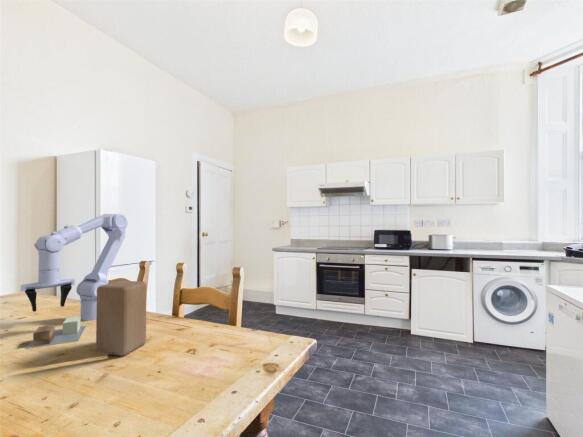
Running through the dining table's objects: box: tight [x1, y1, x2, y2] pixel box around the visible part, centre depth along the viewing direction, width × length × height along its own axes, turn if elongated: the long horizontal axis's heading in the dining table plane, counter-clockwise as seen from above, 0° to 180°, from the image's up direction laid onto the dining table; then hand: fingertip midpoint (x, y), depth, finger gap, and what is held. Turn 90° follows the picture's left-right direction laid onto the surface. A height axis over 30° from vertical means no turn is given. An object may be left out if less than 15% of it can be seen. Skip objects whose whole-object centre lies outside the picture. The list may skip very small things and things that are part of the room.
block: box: [95, 280, 148, 357], centre depth 91 cm, size 10×10×20 cm
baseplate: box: [24, 325, 87, 350], centre depth 98 cm, size 13×16×1 cm
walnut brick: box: [32, 324, 56, 346], centre depth 94 cm, size 4×6×4 cm, turn 27°
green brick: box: [62, 315, 81, 335], centre depth 103 cm, size 4×6×4 cm, turn 28°
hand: (48, 308), depth 103 cm, fingers open, 7 cm apart
